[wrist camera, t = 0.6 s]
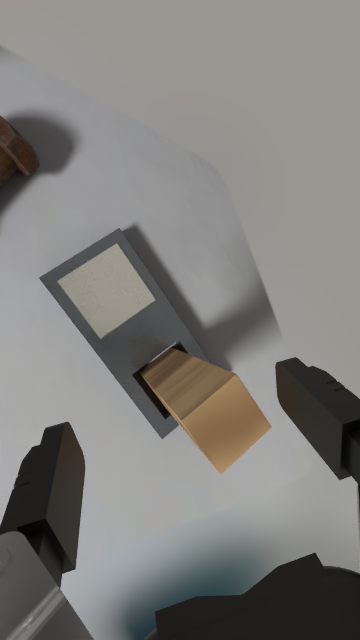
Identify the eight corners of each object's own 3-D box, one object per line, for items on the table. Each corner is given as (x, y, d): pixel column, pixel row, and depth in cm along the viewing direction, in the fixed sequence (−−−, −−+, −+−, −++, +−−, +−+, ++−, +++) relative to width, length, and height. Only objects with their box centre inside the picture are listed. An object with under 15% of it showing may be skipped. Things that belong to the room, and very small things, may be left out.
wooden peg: (138, 371, 29) (181, 420, 16) (171, 347, 30) (236, 374, 17) (161, 403, 30) (220, 474, 17) (192, 378, 31) (271, 427, 18)
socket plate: (42, 280, 27) (38, 277, 25) (117, 233, 29) (119, 227, 26) (157, 431, 30) (162, 440, 28) (217, 380, 32) (226, 385, 30)
